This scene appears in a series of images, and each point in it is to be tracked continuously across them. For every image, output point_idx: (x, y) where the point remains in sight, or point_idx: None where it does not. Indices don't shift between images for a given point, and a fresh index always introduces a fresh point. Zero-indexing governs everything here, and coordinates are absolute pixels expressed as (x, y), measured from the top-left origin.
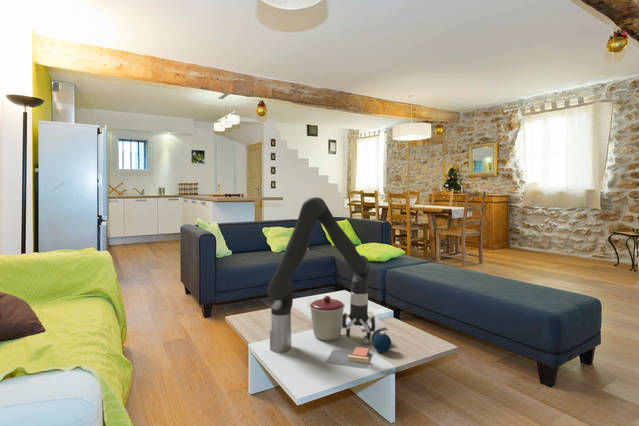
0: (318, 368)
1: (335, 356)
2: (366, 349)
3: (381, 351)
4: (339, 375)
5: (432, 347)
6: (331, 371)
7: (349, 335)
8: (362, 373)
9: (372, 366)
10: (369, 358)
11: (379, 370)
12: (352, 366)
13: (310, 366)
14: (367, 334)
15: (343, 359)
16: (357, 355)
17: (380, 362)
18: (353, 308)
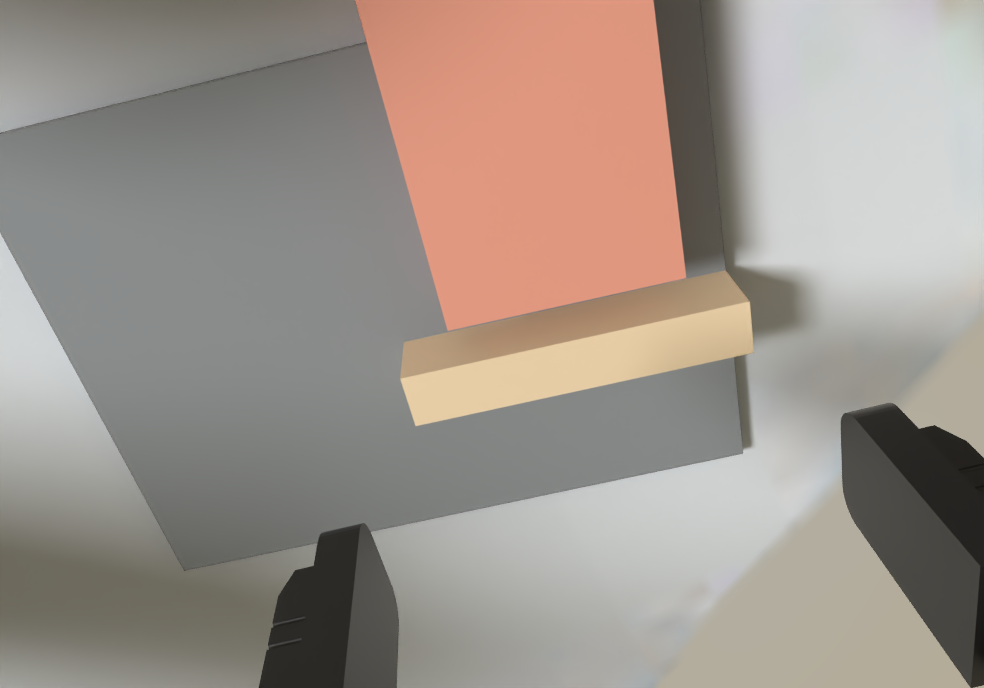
0: (204, 665)
1: (182, 362)
2: (611, 6)
3: None
4: (496, 669)
5: None
6: None
7: (380, 599)
8: (719, 533)
9: (798, 330)
10: (704, 153)
11: (912, 380)
12: (554, 486)
13: (95, 673)
14: (948, 631)
15: (344, 384)
16: (537, 304)
17: (895, 155)
18: None
